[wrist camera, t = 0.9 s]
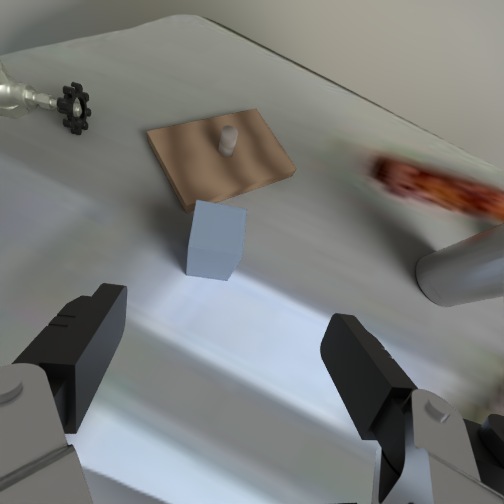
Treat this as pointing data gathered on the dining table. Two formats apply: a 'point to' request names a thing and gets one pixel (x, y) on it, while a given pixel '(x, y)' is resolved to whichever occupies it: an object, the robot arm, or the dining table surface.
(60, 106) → the valve
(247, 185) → the post plate
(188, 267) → the block
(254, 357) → the dining table surface
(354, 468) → the dining table surface
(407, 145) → the dining table surface
